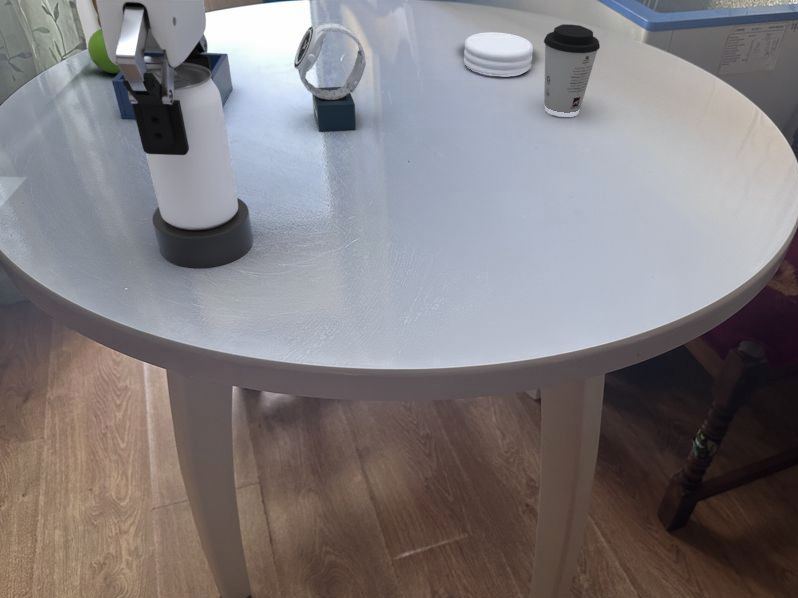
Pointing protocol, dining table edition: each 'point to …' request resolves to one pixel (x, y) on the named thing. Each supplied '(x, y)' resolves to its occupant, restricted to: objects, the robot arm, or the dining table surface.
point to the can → (196, 158)
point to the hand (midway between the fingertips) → (182, 126)
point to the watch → (329, 102)
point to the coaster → (497, 53)
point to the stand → (205, 241)
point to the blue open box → (216, 59)
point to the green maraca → (100, 49)
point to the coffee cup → (568, 66)
